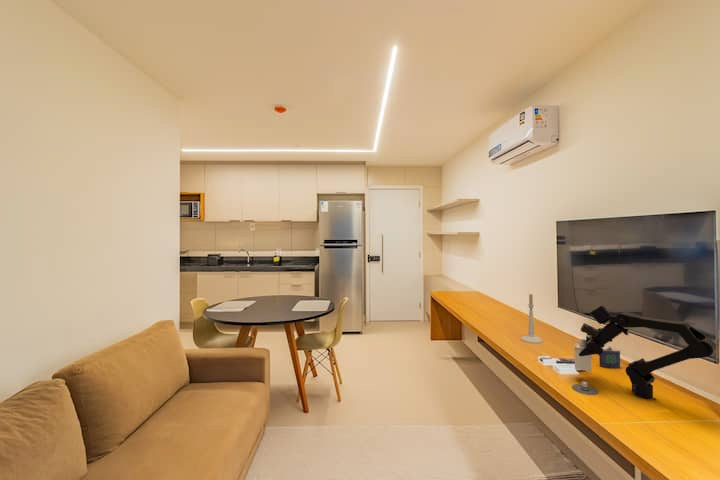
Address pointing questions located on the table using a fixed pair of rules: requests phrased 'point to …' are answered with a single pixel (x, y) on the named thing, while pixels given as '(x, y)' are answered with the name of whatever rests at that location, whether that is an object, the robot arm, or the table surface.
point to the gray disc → (578, 389)
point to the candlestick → (531, 326)
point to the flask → (610, 358)
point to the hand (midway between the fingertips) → (579, 353)
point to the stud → (585, 386)
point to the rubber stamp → (582, 357)
